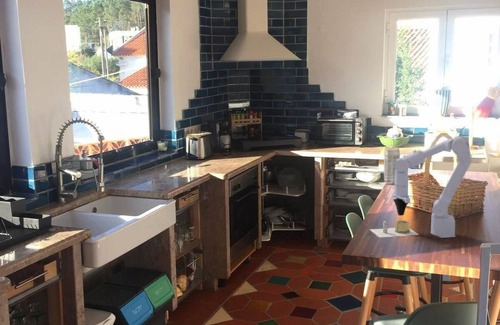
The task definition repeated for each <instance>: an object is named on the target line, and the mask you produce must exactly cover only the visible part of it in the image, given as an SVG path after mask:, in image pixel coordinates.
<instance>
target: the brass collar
mask: <svg viewBox="0 0 500 325" xmlns="http://www.w3.org/2000/svg"><path fill="white" fill-rule="evenodd" d="M400 222H405V223H400ZM395 228H396V230H397V231H402V232H406V231H409V228H410V222H409V221H408V220H404V219H403V220H400V219H399V220H396V221H395Z"/></svg>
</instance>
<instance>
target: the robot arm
mask: <svg viewBox="0 0 500 325" xmlns="http://www.w3.org/2000/svg"><path fill="white" fill-rule="evenodd" d="M470 148H471V147H470V144H469V143H468V140H467V139H466V138H465V137H464V136H461V135H457V136H455V137H453V138H452V137H451V138H449V139H446V140H444V141H441V142H439V143H437V144H435V145H433V146H431V147H428V149H425V150H420V149H418V150H416V149H415V150H413V151H412V153H410V154H407V155H405V154H404V155H403V156H402V157H400V158H399V159H398V160H397V161H396V162H395V169H396V170H395V184H394V191H392V194H391V197H392V198H393V203H394V204H395V207H396V211H397V215H398V216H404V215H405V211H406V208H407V206H408V204H410V203H411V197H409V196H410V195H409V169H412V168H414V167H416V166H418V165H421V164H423V163H425V162H426V159H428V158H429V157H432V156H434V155H437V154H440V153H442V152H448V153H449V152H453V153H454V154H455V155H456V158H457V160H458V162H457V163H456V166H455V168H454V170H453V171H452V174H451V175H450V178H449V179H448V181H447V182H446V185H445V186H444V188H443V190H442V193H441V194H440V195H439V197H438V198H437V199H435V200H434V202H433V206H432V208H431V209H432V210H431V211H432V213H431V216H430V217H431V222H430V234H432V235H434V236H437V237H439V238H441V239H443V238H455V237H456V219H455V217H454V215H451V214H449V213H448V211H449V210H448V209H449V205H450V203H451V201H452V199H453V198H454V195H455V193H456V192H457V190H458V188H459V186H460V185H461V182H462V181H463V179H464V177H465V174H466V173H467V171H468V170H469V167H470V166H471V164H472V155H471V149H470Z"/></svg>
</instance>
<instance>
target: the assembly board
mask: <svg viewBox="0 0 500 325" xmlns="http://www.w3.org/2000/svg"><path fill="white" fill-rule="evenodd" d="M400 223H405V222H400ZM382 225H383V226H382V227H383V228H371V229H369V231H371V232H372V233H373V234H374V235H376V237H378V238H389V237H391V238H392V237H405V236H406V237H407V236H419V235H420V234H419V233H417V232H416V231H414V229H413V230H412V229H411V228H410V227H409V231H406V232H402V231H397V230H396V227H389V228H388V220H387V221H386V220H384V221H383V223H382Z"/></svg>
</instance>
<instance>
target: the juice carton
mask: <svg viewBox="0 0 500 325" xmlns="http://www.w3.org/2000/svg"><path fill="white" fill-rule="evenodd" d="M383 155H384V157H383V180H384V183H385V185H395V170H396V169H395V162H396V161H397V160H398V159H399V158H401V152H400V148H399V147H398V146H395V144H394V145H391V144H390V145H389V146H385V147H384V153H383Z"/></svg>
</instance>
